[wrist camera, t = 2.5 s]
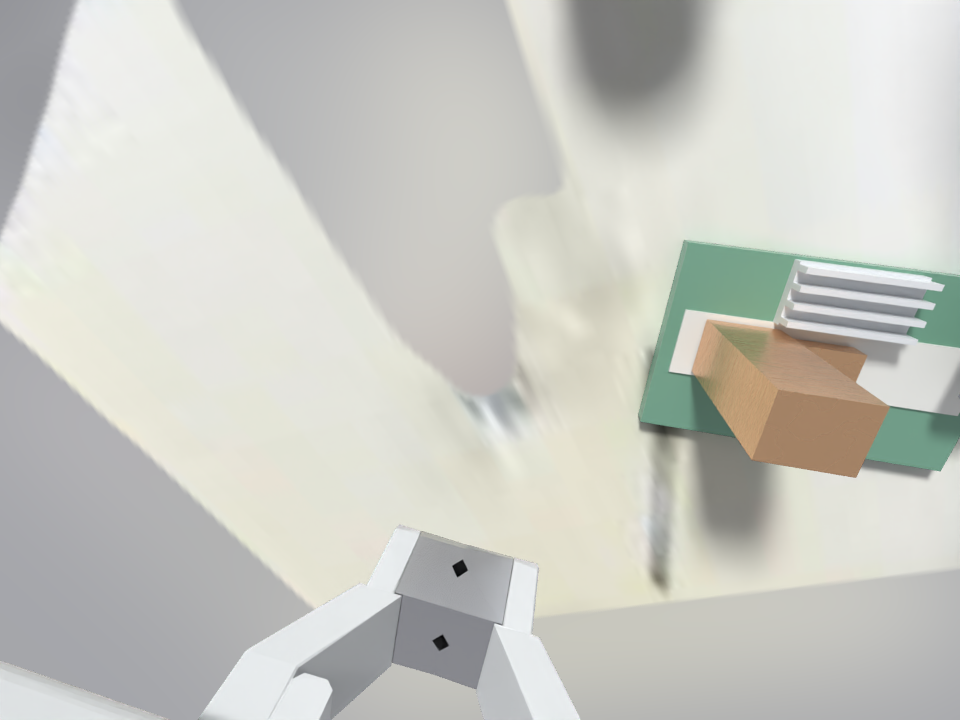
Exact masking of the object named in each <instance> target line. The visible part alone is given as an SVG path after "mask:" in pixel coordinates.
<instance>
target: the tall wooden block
mask: <svg viewBox="0 0 960 720" xmlns="http://www.w3.org/2000/svg"><path fill="white" fill-rule="evenodd" d="M867 356H868V355H866V354H864V353H863V352H861V351H859V350H857V349H856V348H854V347H848V346H841V345H834V344H827V343H820V342H813V341H806V340H799V339H793V338H792V337H790V336H789V335H787V334H786V333H785V332H783V331H782V330H779V329H772V328H765V327H758V326H751V325H744V324H737V323H730V322H723V321H716V320H709V319H707V321H706V324H705V327H704V331H703V334H702V337H701V341H700V344H699V348H698V351H697V354H696V358H695V361H694V364H693V368H692V372H693V374H694V375H695V377H696V378H697V380H698V381H699V383H700V384H701V386H702V387H703V389H704V390H705V392H706V393H707V395H708V396H709V397H710V399H711V400H712V402H713V403H714V405H715V406H716V408H717V409H718V411H719V412H720V414H721V415H722V417H723V418H724V420H725V421H726V423H727V424H728V426H729V427H730V429H731V430H732V432H733V433H734V435H735V436H736V438H737V439H738V440H739V442H740V443H741V445H742V446H743V448H744V449H745V451H746V452H747V454H748V455H749V457H750V458H751V460H754V461H760V462H766V463H772V464H777V465H783V466H789V467H795V468H801V469H807V470H813V471H819V472H825V473H831V474H836V475H842V476H848V477H854V478H856V477H857V475H858V473H859V470H860V468H861V466H862V464H863V462H864V460H865V458H866V456H867V454H868V452H869V450H870V448H871V446H872V444H873V441H874V439H875V437H876V435H877V433H878V431H879V429H880V427H881V425H882V423H883V421H884V419H885V417H886V415H887V413H888V410H889V408H890V406H888V405H887V404H885V403H884V402H883V401H881V400H880V399H878V398H877V397H876V396H874V395H873V394H871V393H870V392H868V391H867V390H866V389H864V388H863V387H861V386H860V385H858V384H857V383H856V381H857V378H858V376H859V374H860V372H861V369H862V367H863V365H864V363H865V360H866V358H867Z"/></svg>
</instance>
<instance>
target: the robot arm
mask: <svg viewBox="0 0 960 720" xmlns="http://www.w3.org/2000/svg"><path fill="white" fill-rule="evenodd" d="M538 572H539V567H538V564H536V563H533V562H529V561H525V560H522V559H518V558H514V559H513V557H510V556H507V555H503V554H499V553H496V552H492V551H488V550H485V549H481V548H477V547H474V546H470V545H465V544H462V543H459V542H456V541H453V540H449V539H446V538H443V537H440V536H437V535H433V534H430V533H427V532H424V531H419V530H415V529H412V528H409V527H406V526H403V525H399V526H398V527H397V528H396V529H395V530H394V532H393V534H392V536H391V538H390V540H389V542H388V544H387V546H386V548H385V550H384V552H383V554H382V556H381V558H380V560H379V562H378V564H377V566H376V568H375V570H374V572H373V574H372V575H371V577H370V579H369V581H368V583H367V585H365V584H361V583H359V584H357V585H356V586H354V587H352V588H350V589H349V590H347V591H345V592H344V593H342V594H340V595H339V596H337V597H335V598H334V599H332V600H330V601H329V602H327V603H325V604H323V605H322V606H320V607H318V608H317V609H315V610H313V611H312V612H310V613H308V614H307V615H305V616H303V617H302V618H300V619H298V620H296V621H295V622H293V623H292V624H290V625H288V626H286V627H285V628H283V629H281V630H280V631H278V632H277V633H275V634H273V635H271V636H269V637H268V638H266V639H264V640H263V641H261V642H259V643H258V644H256V645H254V646H253V647H251V648H249V649H248V650H246V651H245V653H244V654H243V655H242V657H241V658H240V660H239V661H238V663H237V664H236V666H235V667H234V669H233V670H232V671H231V673H230V674H229V676H228V677H227V679H226V680H225V681H224V683H223V684H222V686H221V687H220V689H219V690H218V692H217V693H216V694H215V696H214V697H213V699H212V700H211V702H210V703H209V704H208V706H207V707H206V709H205V710H204V712H203V713H202V715H201V716H200V717H199V719H198V720H332V719H333V718H334V717H335V716H336V715H337V714H338V713H339V712H340V711H341V710H343V709H344V708H345V707H346V706H347V705H348V704H349V703H350V702H351V701H353V699H355V698H356V697H357V696H358V695H359V694H360V693H361V692H362V691H364V690H365V689H366V688H367V687H368V686H369V685H370V684H371V683H372V682H373V681H375V680H376V679H377V678H378V677H379V676H380V675H381V674H382V673H383V672H385V670H387V669H388V668H389V667H390V666H391V663H395V664H399V665H402V666H405V667H409V668H413V669H416V670H420V671H423V672H427V673H430V674H434V673H435V674H434V675H437V676H439V677H442V678H445V679H448V680H451V681H454V682H457V683H459V684H462V685H465V686H468V687H471V688H474V689H477V690H476V694H477V697H478V701H479V705H480V708H481V712H482V715H483V719H484V720H581V719H580V717H579V715H578V713H577V711H576V709H575V707H574V705H573V703H572V701H571V699H570V697H569V695H568V693H567V691H566V689H565V687H564V685H563V683H562V681H561V679H560V677H559V675H558V673H557V671H556V669H555V667H554V665H553V663H552V661H551V659H550V657H549V655H548V653H547V651H546V649H545V647H544V645H543V643H542V641H541V639H540V637H537V636H534V635H532V631H533V621H534V611H535V601H536V591H537V582H538ZM0 720H170V719H167V718H164V717H161V716H158V715H155V714H152V713H149V712H147V711H144V710H141V709H138V708H135V707H132V706H129V705H126V704H124V703H121V702H118V701H115V700H112V699H109V698H106V697H104V696H100V695H98V694H95V693H92V692H89V691H86V690H83V689H81V688H78V687H75V686H72V685H69V684H66V683H63V682H60V681H57V680H55V679H52V678H49V677H46V676H43V675H40V674H38V673H35V672H32V671H29V670H26V669H23V668H20V667H18V666H15V665H12V664H9V663H6V662H3V661H0Z"/></svg>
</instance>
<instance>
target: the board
mask: <svg viewBox="0 0 960 720" xmlns="http://www.w3.org/2000/svg"><path fill="white" fill-rule="evenodd" d="M707 319H709V320H716V321H723V322H730V323H737V324H744V325H751V326H758V327H765V328H772V329H779V330H782V331H783V332H785V333H786V334H787V335H789V336H790V337H792V338H793V339H799V340H806V341H813V342H820V343H827V344H834V345H841V346H848V347H854V348H856V349H857V350H859V351H861V352H863V353H864V354H866V355H868V356H867V358H866V360H865V363H864V365H863V367H862V369H861V372H860V374H859V376H858V378H857V381H856V383H857V384H858V385H860V386H861V387H863V388H864V389H866V390H867V391H868V392H870V393H871V394H873V395H874V396H876V397H877V398H878V399H880V400H881V401H883V402H884V403H885V404H887V405H888V406H890V408H889V410H888V413H887V415H886V417H885V419H884V421H883V423H882V425H881V427H880V429H879V431H878V433H877V435H876V437H875V439H874V441H873V444H872V446H871V448H870V450H869V452H868V454H867V456H866V458H865V459H869V460H875V461H881V462H887V463H893V464H899V465H905V466H912V467H918V468H924V469H930V470H936V471H941V470H942V468H943V466H944V464H945V462H946V461H947V459H948V457H949V455H950V453H951V452H952V450H953V448H954V446H955V445H956V443H957V441H958V439H959V437H960V275H954V274H946V273H939V272H931V271H923V270H915V269H907V268H899V267H892V266H884V265H876V264H868V263H860V262H852V261H845V260H837V259H829V258H821V257H813V256H805V255H798V254H790V253H782V252H774V251H766V250H758V249H751V248H743V247H735V246H727V245H719V244H711V243H704V242H696V241H688V240H684V242H683V246H682V250H681V254H680V258H679V261H678V265H677V269H676V273H675V277H674V280H673V284H672V288H671V292H670V296H669V299H668V303H667V307H666V311H665V315H664V318H663V322H662V326H661V330H660V334H659V337H658V341H657V345H656V349H655V353H654V356H653V360H652V364H651V368H650V372H649V375H648V379H647V383H646V387H645V391H644V394H643V398H642V402H641V406H640V410H639V413H638V416H639V419H640V422H646V423H652V424H658V425H664V426H670V427H676V428H682V429H688V430H694V431H700V432H706V433H712V434H718V435H724V436H730V437H736V436H735V435H734V433H733V432H732V430H731V429H730V427H729V426H728V424H727V423H726V421H725V420H724V418H723V417H722V415H721V414H720V412H719V411H718V409H717V408H716V406H715V405H714V403H713V402H712V400H711V399H710V397H709V396H708V395H707V393H706V392H705V390H704V389H703V387H702V386H701V384H700V383H699V381H698V380H697V378H696V377H695V375H694V374H693V372H692V368H693V364H694V361H695V358H696V354H697V351H698V348H699V344H700V341H701V337H702V334H703V331H704V327H705V324H706V321H707Z"/></svg>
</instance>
